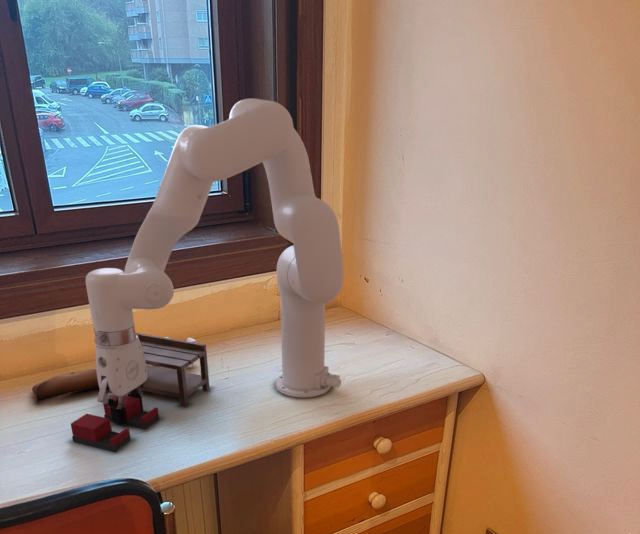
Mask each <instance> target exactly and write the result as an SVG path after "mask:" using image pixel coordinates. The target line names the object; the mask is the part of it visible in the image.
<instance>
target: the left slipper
mask: <svg viewBox="0 0 640 534" xmlns="http://www.w3.org/2000/svg"><path fill="white" fill-rule="evenodd" d="M70 428H71V433H72V436H71V438H72V442H73V443H76V444H80V445H85V446H88V447H92V448H97V449H101V450H105V451H109V452H114V453H116V452H118V451H119V450H120V449H122V448H123V447H124V446H126V445H127V444H128V443H129V442H131V439H132V438H131V433H130V428H126V427H125V428H124V429H123V430H122V431H120V432H117V431H114V430H113V429H112V422H110V419H109V418H105V417H104V416H99V415H95V414H92V413H91V414H90V413H85V414H83V415H82V416H81V417H78V418H77V419H76V420H74V421H73V422H70Z"/></svg>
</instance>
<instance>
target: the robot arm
mask: <svg viewBox="0 0 640 534" xmlns="http://www.w3.org/2000/svg"><path fill="white" fill-rule="evenodd" d="M259 164H262V165H263V167H264V171H265V174H266V178H267V182H268V183H267V184H268V188H269V195H270V200H271V201H270V202H271V209H272V216H273V224H274V227H275V230H276V231H277V233H278V234H279V235H280V236H281V237H282V238H283V239H285V240H287V241H289V242H290V243H292V244H293V245H290V246H288V247H286V248H285V249H284V250H283V251H282V252H281V254H280V255H279V257H278V260H277V263H276V282H277V286H278V293H279V301H280V331H281V336H280V337H281V371H282V373H281V375H279V376H278V377H277V378H276V381H275V388H276V390H277V391H278V392H279V393H281V394H283V395H285V396H288V397H292V398H302V399H303V398H313V397H318V396H322V395H324V394H326V393H327V392H328V391H330V389H331V387H332V388H337V389H339V388H340V387H341V385H342V379H341V378H340V374H331V372H329V366H327V365H326V366H325V359H326V358H325V354H326V353H325V352H326V351H325V350H326V349H325V348H326V347H325V342H326V334H325V333H326V304H329V303H331V302H333V301H334V300H335V299H336V298H337V297H338V296H339V294H340V292H341V291H342V288H343V284H344V263H343V262H344V261H343V252H342V242H341V232H340V225H339V220H338V218H337V215H336V213H335V211H334V210H333V208H332V207H331V205H330V204H328V202H326V201H324V200H322V199H321V198H318V197H317V196H316V193H315V188H314V182H313V176H312V171H311V165H310V159H309V155H308V152H307V149H306V146H305V144H304V142H303V139H302V138H301V136H300V135H299V133H298V132H297V130H296V129H295V127H294V122H293V117H292V116H291V113H290V112H289V110H288V109H287V108H286V107H284V106H283V105H282V104H280V103H279V102H277V101H274V100H269V99H268V100H267V99H261V98H254V97H253V98H244V99H241V100H239V101H237V102H236V103H235V104H234V105H233V106H232V107H231V110H230V112H229V117H228V119H226V120H224V121H221V122H219V123H216V124H214V125H211V126H206V125H200V124H193V125H190V126H187V127H185V128H184V129H183V130H182V131H180V133H179V135H178V137H176V141H175V143H174V146H173V148H172V151H171V153H170V157H169V160H168V161H167V165H166V168H165V171H164V173H163V177H162V179H161V182H160V185H159V187H158V190H157V192H156V195H155V198H154V200H153V203H152V206H151V207H150V209H149V211H148V212H147V214H146V216H145V218H144V220H143V222H142V224H141V225H140V227H139V228H138V231H137V233H136V236H135V238H134V240H133V243H132V247H131V249H130V251H129V255H128V256H127V257H128V258H127V260H126V263H125V267H124V270H122V269H120V268H115V267H103V268H96V269H94V270H90V271H89V272H88V273H87V274H86V276H85V287H86V292H87V298H88V304H89V311H90V316H91V322H92V327H93V333H94V339H93V340H94V341H93V342H94V343H95V344H96V345H95V369H96V371H97V379H98V384H99V388H98V389H99V391H98V394H97V397H96V401H97V402H98V403H102V404H103V403H104V404H105V405H107V406H108V407H110V410H111V416H112V422H111V423H113V424H115V425H119V426H123V427H125V426H128V425H127V419H126V413H125V408H124V407H122V396H124V395H125V396H130V397H135V398H139V399H140V404H141V410H142V411H145V410H144V405H143V394H144V391H143V390H142V388H143V385H144V382H145V381H146V380H147V378H148V374H147V367H146V365H147V364H146V362H145V357H144V353H143V349H142V346H141V343H140V340H139V338H138V336H137V335H136V333H137V332H136V327H135V319H134V313H133V310H158V309H162V308H164V307H166V306H167V305H168V304H170V302H171V301H172V300H173V298H174V292H175V289H174V284H173V281H172V280H171V278H170V277H169V275H168V274H167V273H166V272H165V270H166V267H167V264H168V263H169V262H168V261H169V259H170V257H171V254H172V252H173V250H174V248H175V246H176V245H177V243H178V242H179V240H180V239H182V237H183V236H184V235H186V234H188V233H189V232H190V231H192V230H193V229H194V228H195V227H196V226H197V225H198V224H199V222H200V219H201V216H202V213H203V211H204V209H205V206H206V204H207V200H208V199H209V198H208V197H209V195H210V193H211V190H212V187H213V185H214V183H216V182H220V181H224V180H226V179H229V178H231V177H234V176H236V175H239V174H240V173H243V172H245V171H247V170H249V169H251V168H253V167H255V166H257V165H259ZM113 396H116V401H115V400H113Z"/></svg>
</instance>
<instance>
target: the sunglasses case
mask: <svg viewBox="0 0 640 534" xmlns="http://www.w3.org/2000/svg"><path fill="white" fill-rule="evenodd" d="M94 389H100V388H99V384H98V379H97V371H96V368H90V369H85V370H79V371H72V372H69V373H63V374H59V375H55V376H53V377H50V378H48V379H46V380H44V381H40V382H38V383H37V384H35V385H33V386H32V387H31V390H32V394H33V396H34V401H35V403H36V404H37V403H39V402H42V401H43V402H44V401H46V400H50V399H55V398H57V397H59V396H65V395H67V394H73V393H80V392H83V391H87V390H94Z"/></svg>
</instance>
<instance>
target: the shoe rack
mask: <svg viewBox="0 0 640 534" xmlns="http://www.w3.org/2000/svg"><path fill="white" fill-rule="evenodd" d="M135 333H136V335H137V336H138V338H139V340H140V343H141V346H142V349H143V353H144V357H145V362H146V367H147V374H148V378H147V380H146V381H145V382H144V385H143V388H142V390H143V392H149V393H154V394H159V395H164V396H169V397H173V398H178V399H179V404H180V407H183V408H187V407H188V406H189V398H188V397H189V396H191V395H192V394H193V393H195V392H196V391H198V390H199V389H200V388H201V390H202V391H208V390H210V388H211V387H210V377H209V366H208V364H209V363H208V356H207V353H208V352H207V345H206V344H205V343H199V342H196V343H193V342H188V341H187V340H183V339H182V340H181V339H175V338H170V337H169V338H164V337H165V336H158V335H152V334H146V333H139V332H135ZM198 360H199V367H200V374H197V373H192V372H187V371H186V369H187V368H189V367H188V366H189V364H192V363H193V364H194V363H196V362H197V361H198ZM160 367H164V368H160ZM165 368H170V369H175V370H170V369H165ZM176 370H177V371H176Z"/></svg>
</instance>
